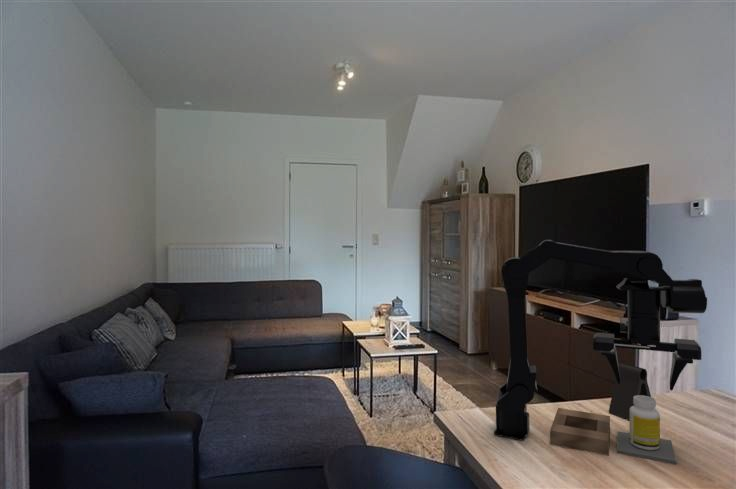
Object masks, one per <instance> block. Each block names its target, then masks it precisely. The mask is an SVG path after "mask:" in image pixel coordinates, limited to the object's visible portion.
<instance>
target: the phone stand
mask: <svg viewBox="0 0 736 489" xmlns="http://www.w3.org/2000/svg"><path fill="white" fill-rule="evenodd" d="M618 365H619V372H620V384H618V382H617V380H616V379H615V382H614V385H613V386H614V387H613V390H612V394H611V398H610V403H609V407H608V413H609V414H610V415H614V416H615V417H619V418H622V419H623V420H624V419H625V420H627V421H629V422H630V408H631V407H632V406H634V403H633V397H634V396H636V395H644V396H649V397H652V394H651V392H650V387H649V384H648V372H647V370H646V368H644V367H639V366H636V365H631V364H628V363H624V362H618Z"/></svg>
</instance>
